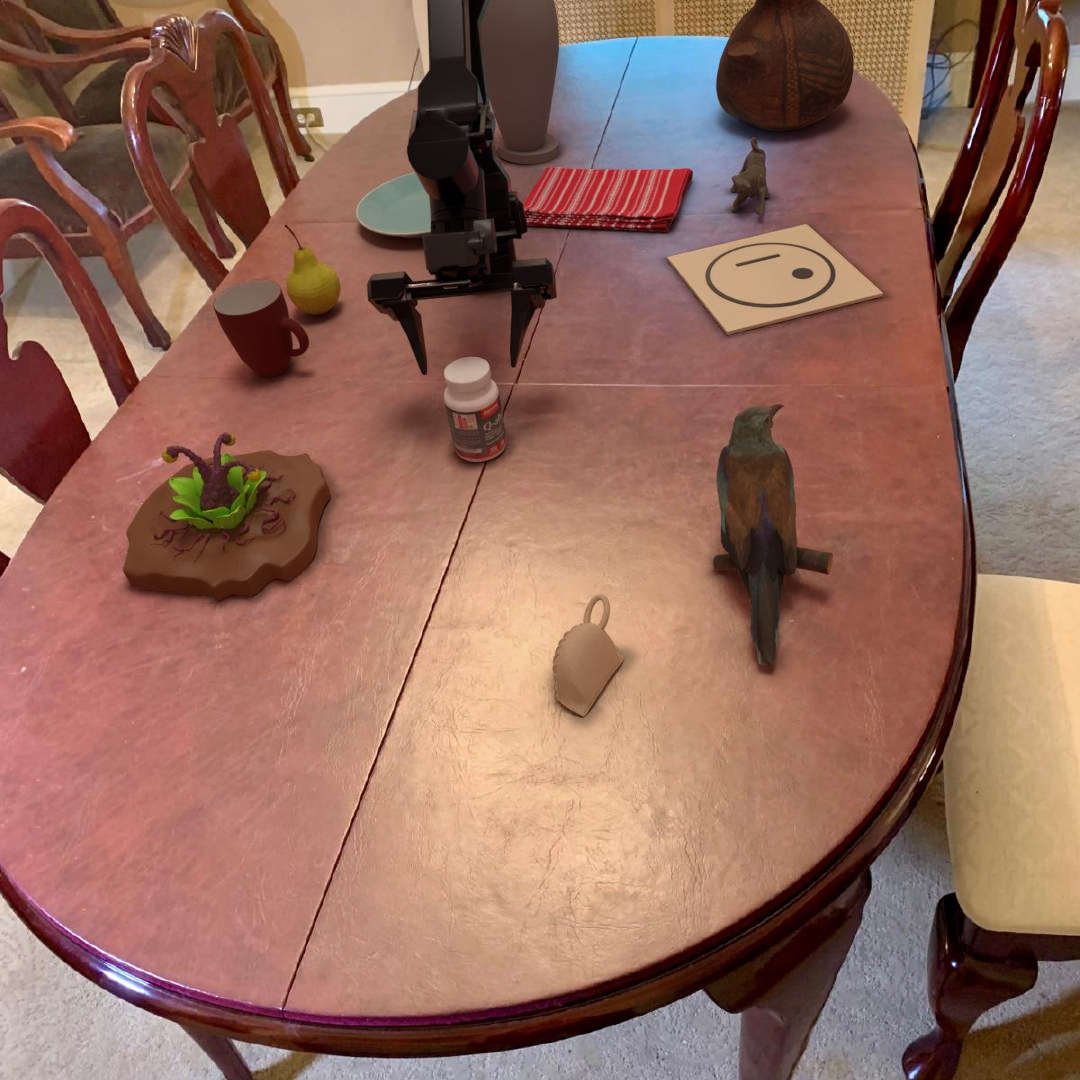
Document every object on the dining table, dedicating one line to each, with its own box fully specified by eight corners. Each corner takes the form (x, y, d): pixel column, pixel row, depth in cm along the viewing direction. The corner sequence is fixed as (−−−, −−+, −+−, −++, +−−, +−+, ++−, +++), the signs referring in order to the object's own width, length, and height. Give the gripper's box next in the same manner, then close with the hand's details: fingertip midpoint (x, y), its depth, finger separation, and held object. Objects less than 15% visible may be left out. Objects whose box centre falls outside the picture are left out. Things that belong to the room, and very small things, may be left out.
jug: (712, 97, 164) (716, -108, 143) (841, 88, 160) (864, -123, 139) (711, 148, 148) (715, -72, 128) (853, 141, 145) (881, -87, 124)
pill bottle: (500, 465, 98) (486, 387, 91) (449, 463, 99) (431, 385, 93) (512, 431, 102) (500, 354, 95) (462, 429, 103) (446, 352, 97)
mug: (333, 352, 118) (311, 280, 111) (307, 390, 112) (282, 317, 105) (258, 349, 120) (232, 278, 113) (229, 386, 115) (200, 314, 108)
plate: (332, 244, 139) (327, 226, 137) (402, 179, 153) (398, 162, 151) (465, 257, 132) (462, 238, 130) (526, 188, 146) (524, 170, 144)
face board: (666, 260, 125) (666, 255, 124) (806, 227, 127) (806, 221, 127) (726, 335, 111) (727, 329, 110) (882, 296, 113) (883, 290, 112)
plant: (170, 471, 104) (128, 388, 96) (342, 460, 102) (314, 374, 94) (105, 608, 90) (50, 523, 82) (304, 597, 88) (266, 510, 80)
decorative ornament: (540, 698, 76) (533, 657, 73) (594, 629, 81) (590, 587, 77) (582, 719, 75) (577, 678, 71) (635, 647, 79) (632, 605, 75)
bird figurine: (842, 670, 74) (848, 416, 70) (715, 669, 76) (712, 421, 71) (821, 617, 87) (824, 400, 82) (713, 618, 89) (710, 405, 84)
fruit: (356, 307, 125) (332, 222, 117) (316, 330, 122) (288, 245, 114) (325, 292, 129) (300, 209, 121) (285, 315, 126) (256, 231, 117)
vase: (581, 142, 156) (561, -108, 132) (539, 174, 149) (510, -85, 124) (515, 133, 162) (485, -108, 138) (472, 163, 155) (432, -86, 130)
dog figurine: (732, 185, 139) (733, 134, 133) (772, 185, 137) (775, 133, 132) (722, 223, 131) (723, 170, 125) (765, 224, 129) (768, 170, 124)
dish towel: (673, 234, 130) (673, 216, 128) (512, 227, 137) (510, 210, 135) (696, 179, 141) (696, 162, 139) (547, 176, 148) (545, 159, 146)
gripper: (346, 198, 89) (356, 362, 88) (542, 178, 87) (553, 345, 87) (377, 237, 100) (386, 383, 99) (552, 220, 98) (561, 369, 98)
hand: (468, 370), depth 96 cm, fingers open, 9 cm apart
